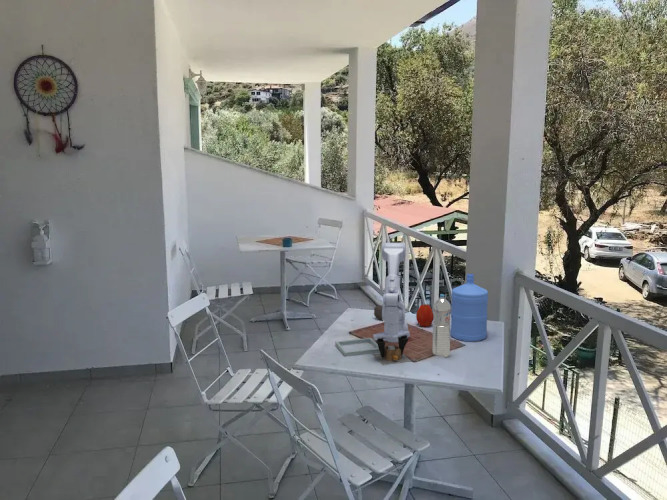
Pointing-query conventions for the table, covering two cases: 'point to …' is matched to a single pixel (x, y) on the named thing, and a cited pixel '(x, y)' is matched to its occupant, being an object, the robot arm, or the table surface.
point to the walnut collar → (392, 353)
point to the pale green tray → (359, 352)
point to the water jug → (469, 311)
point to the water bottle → (441, 327)
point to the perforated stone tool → (378, 312)
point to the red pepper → (424, 315)
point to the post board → (385, 362)
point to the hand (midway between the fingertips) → (391, 355)
